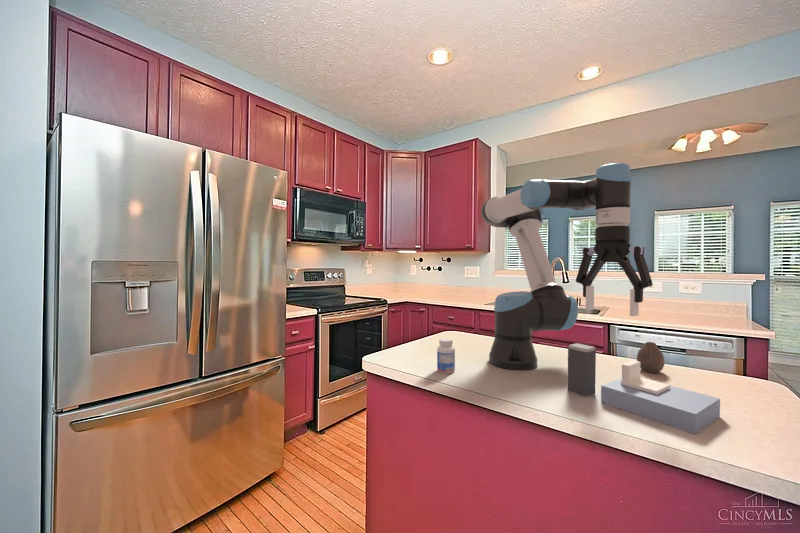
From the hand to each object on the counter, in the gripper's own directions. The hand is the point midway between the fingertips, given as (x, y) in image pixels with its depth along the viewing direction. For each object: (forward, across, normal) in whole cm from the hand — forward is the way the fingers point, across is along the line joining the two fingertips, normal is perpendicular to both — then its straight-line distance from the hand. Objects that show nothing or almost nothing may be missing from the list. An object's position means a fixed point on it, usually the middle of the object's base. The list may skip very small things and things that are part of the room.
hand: (610, 312), depth 88 cm
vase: (+21, -2, +28) cm, 35 cm away
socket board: (+21, +11, -1) cm, 23 cm away
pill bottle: (+21, -36, -25) cm, 48 cm away
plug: (+21, -4, -6) cm, 22 cm away
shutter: (+17, +8, 0) cm, 18 cm away
